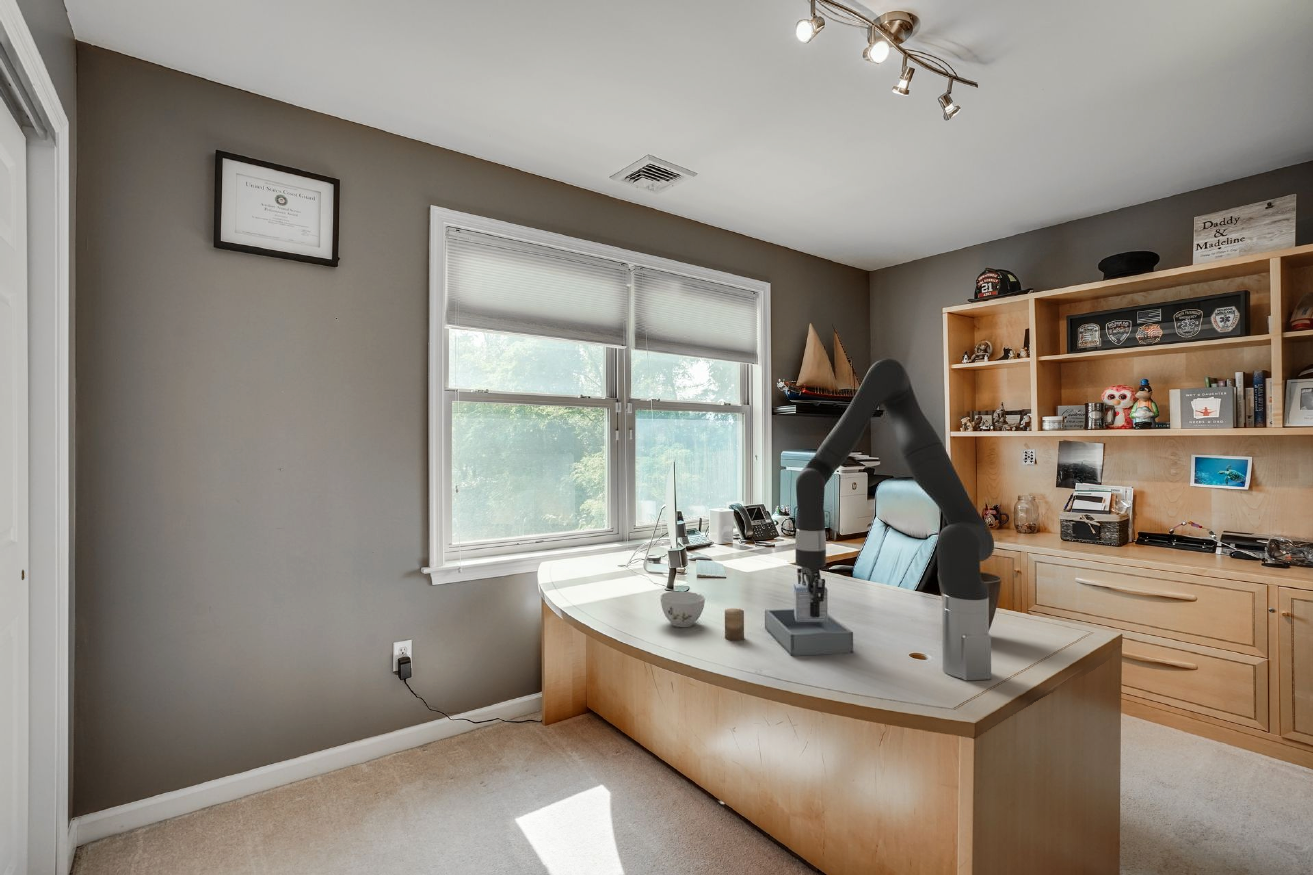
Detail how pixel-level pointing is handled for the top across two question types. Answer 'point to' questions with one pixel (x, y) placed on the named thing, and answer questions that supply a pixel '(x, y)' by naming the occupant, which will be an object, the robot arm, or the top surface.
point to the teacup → (682, 607)
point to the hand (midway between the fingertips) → (810, 613)
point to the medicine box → (808, 605)
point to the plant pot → (994, 591)
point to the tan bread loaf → (734, 624)
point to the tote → (808, 634)
